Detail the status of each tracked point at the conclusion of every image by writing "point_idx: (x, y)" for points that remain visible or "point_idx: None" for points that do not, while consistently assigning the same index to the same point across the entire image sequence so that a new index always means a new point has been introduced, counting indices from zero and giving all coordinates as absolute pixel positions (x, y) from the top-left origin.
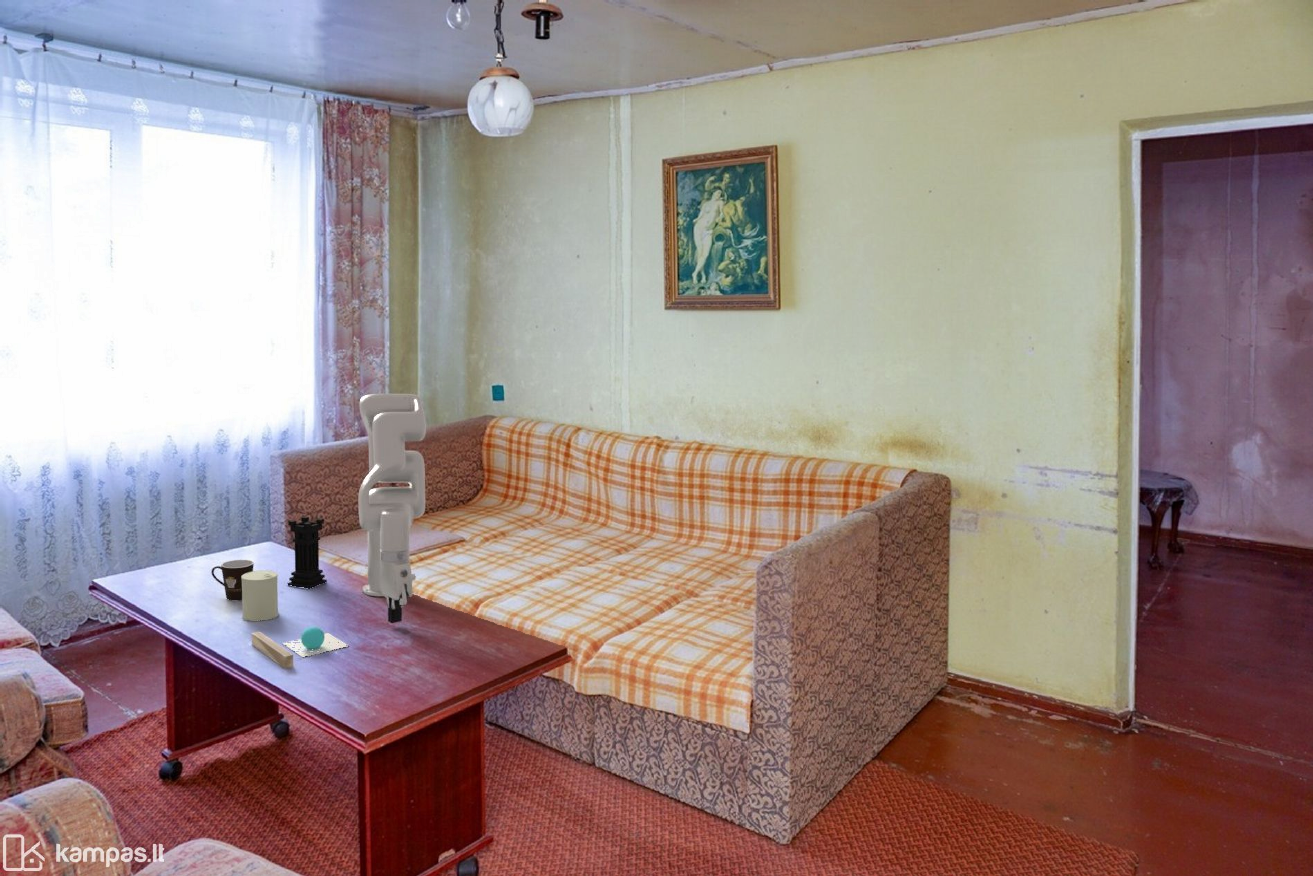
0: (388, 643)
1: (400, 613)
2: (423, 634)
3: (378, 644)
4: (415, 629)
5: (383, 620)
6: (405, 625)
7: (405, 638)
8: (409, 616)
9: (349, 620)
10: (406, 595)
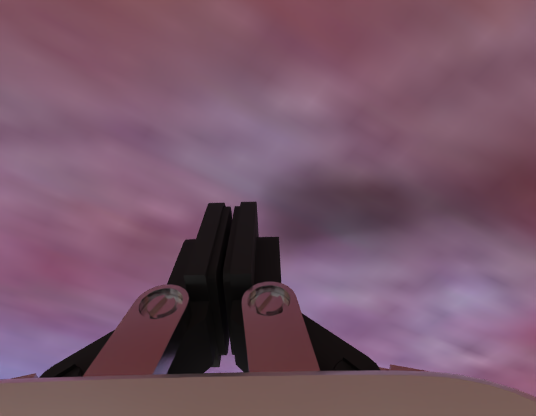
0: (451, 339)
1: (255, 244)
2: (507, 135)
3: (424, 370)
4: (377, 131)
5: (77, 220)
6: (253, 150)
7: (465, 254)
8: (52, 12)
9: (10, 347)
10: (302, 371)
